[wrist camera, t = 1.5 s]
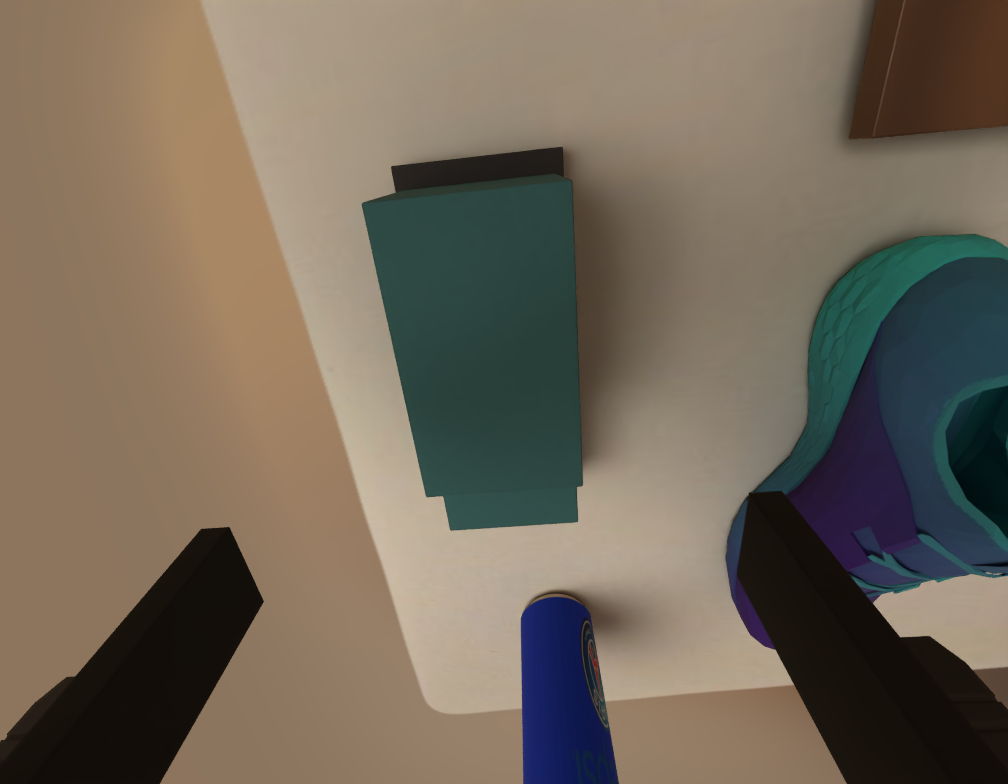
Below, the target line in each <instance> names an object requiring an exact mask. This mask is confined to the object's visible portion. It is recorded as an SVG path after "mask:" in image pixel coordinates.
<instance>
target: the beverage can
mask: <svg viewBox="0 0 1008 784" xmlns="http://www.w3.org/2000/svg"><path fill="white" fill-rule="evenodd" d="M521 661H522V719H523V720H522V721H523V722H522V724H523V782H524V783H523V784H619V782H618V776H617V770H616V764H615V758H614V752H613V746H612V740H611V734H610V728H609V722H608V716H607V710H606V704H605V698H604V692H603V686H602V680H601V674H600V668H599V663H598V657H597V651H596V645H595V639H594V633H593V627H592V621H591V616H590V613H589V611H588V610H587V608H586V607H585V606H584V605H583V604H582V603H580V602H579V601H578V600H577V599H575V598H573V597H571V596H568V595H564V594H548V595H544V596H541V597H539V598H537V599H535V600H534V601H533V602H531V603H530V604H529V606H528V607H527V608H526V609H525V611H524V612H523V614H522V617H521Z"/></svg>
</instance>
